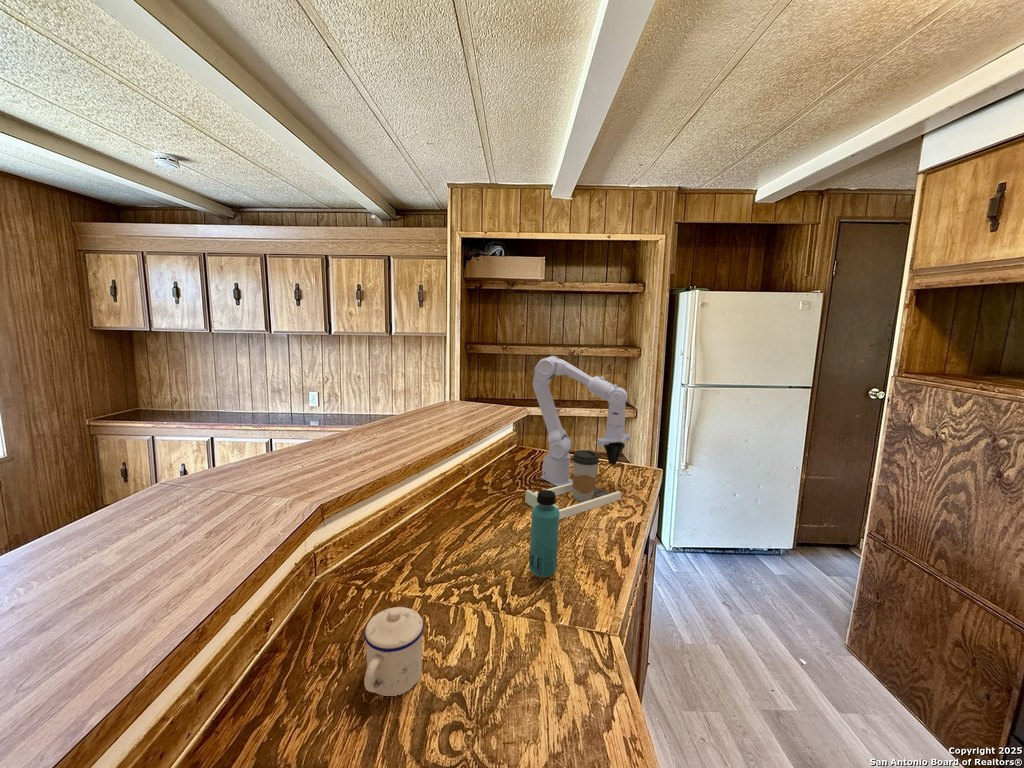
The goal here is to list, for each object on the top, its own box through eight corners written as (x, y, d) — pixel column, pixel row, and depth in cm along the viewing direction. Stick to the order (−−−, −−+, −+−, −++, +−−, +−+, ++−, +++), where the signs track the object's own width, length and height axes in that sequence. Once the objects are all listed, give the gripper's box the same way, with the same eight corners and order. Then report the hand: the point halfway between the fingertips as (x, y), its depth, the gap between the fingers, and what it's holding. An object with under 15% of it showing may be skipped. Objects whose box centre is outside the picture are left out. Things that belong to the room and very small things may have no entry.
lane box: (525, 502, 137) (525, 495, 136) (588, 484, 153) (589, 477, 153) (555, 520, 126) (555, 512, 125) (620, 499, 142) (620, 492, 142)
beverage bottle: (559, 570, 102) (564, 489, 98) (552, 587, 96) (557, 500, 92) (532, 564, 104) (536, 484, 101) (523, 580, 98) (528, 495, 94)
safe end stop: (525, 502, 137) (525, 490, 136) (528, 501, 138) (528, 489, 137) (555, 521, 126) (555, 507, 125) (558, 520, 126) (559, 506, 126)
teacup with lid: (385, 648, 77) (385, 587, 75) (433, 661, 74) (433, 599, 72) (340, 706, 65) (338, 636, 63) (394, 724, 63) (394, 652, 61)
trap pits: (581, 489, 149) (581, 488, 149) (592, 486, 152) (592, 485, 152) (606, 501, 140) (606, 500, 140) (616, 497, 143) (616, 496, 143)
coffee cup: (594, 494, 146) (598, 450, 143) (596, 505, 137) (600, 459, 135) (569, 492, 146) (572, 448, 144) (570, 502, 138) (573, 457, 136)
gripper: (610, 430, 138) (606, 471, 140) (639, 424, 147) (635, 463, 149) (593, 424, 144) (590, 464, 146) (622, 419, 152) (619, 457, 155)
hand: (612, 463), depth 148 cm, fingers closed
